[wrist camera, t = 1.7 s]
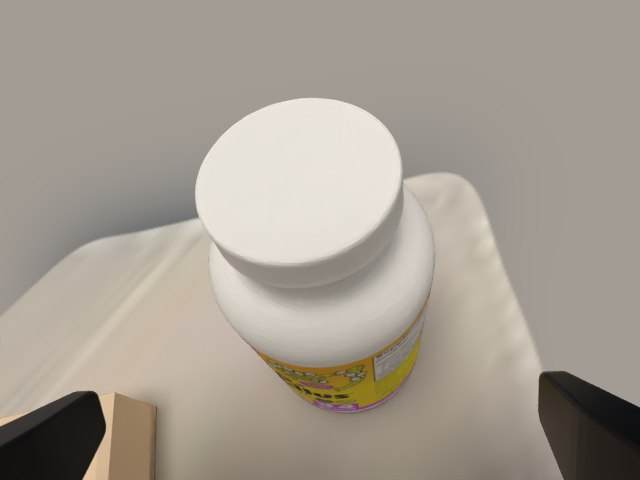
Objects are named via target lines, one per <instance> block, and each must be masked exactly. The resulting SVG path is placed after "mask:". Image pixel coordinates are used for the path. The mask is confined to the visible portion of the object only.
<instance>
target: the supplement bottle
mask: <svg viewBox="0 0 640 480" xmlns="http://www.w3.org/2000/svg"><path fill="white" fill-rule="evenodd" d="M195 197H196V207H197V212H198V215H199V217H200V220H201V222H202V225H203V227H204V229H205V230H206V232H207V233H208V235H209V236H210V238H211V239H212V242H211V247H210V254H209V275H210V281H211V286H212V290H213V293H214V296H215V299H216V302H217V304H218V306H219V308H220V310H221V312H222V313H223V315H224V317H225V318H226V320H227V321H228V322H229V324H230V325H231V326H232V327H233V329H234V330H235V331H236V332H237V333H238V334H239V335H240V336H241V337H242V339H243V340H245V341H246V342H247V343H248V344H249V345H250V346H251V347H252V348H253V349H254V350H255V351H256V352H257V354H258V355H259V356H260V357H261V358H262V359H263V360H264V361H265V362H266V363H267V364H268V365H269V366H270V367H271V368H272V369H273V370H274V371H275V372H276V373H277V374H278V375H279V376H280V377H281V378H282V379H283V380H284V381H285V382H286V383H287V384H288V385H289V386H290V387H291V388H292V389H293V390H294V391H295V392H296V393H297V394H298V395H300V396H301V397H302V398H303V399H305V400H306V401H308V402H309V403H311V404H313V405H315V406H317V407H320V408H322V409H325V410H329V411H334V412H342V413H349V412H358V411H363V410H367V409H370V408H373V407H375V406H377V405H379V404H381V403H383V402H384V401H386V400H387V399H389V398H390V397H391V396H392V395H394V394H395V393H396V392H397V391H398V390H399V389H400V387H401V386H402V385H403V384H404V382H405V381H406V379H407V378H408V376H409V374H410V372H411V370H412V368H413V366H414V363H415V360H416V357H417V352H418V348H419V343H420V338H421V333H422V328H423V324H424V319H425V313H426V308H427V303H428V299H429V294H430V290H431V285H432V280H433V274H434V267H435V244H434V237H433V232H432V228H431V225H430V222H429V219H428V217H427V214H426V212H425V211H424V209H423V207H422V205H421V203H420V202H419V200H418V199H417V197H416V196H415V194H414V193H413V192H412V191H411V190H410V189H409V188H408V187H407V186H406V185H405V184H404V183H403V167H402V160H401V155H400V152H399V149H398V146H397V144H396V142H395V140H394V138H393V136H392V135H391V134H390V132H389V131H388V129H387V128H386V127H385V126H384V125H383V124H382V123H381V122H380V121H379V120H378V119H377V118H375V117H374V116H372V115H371V114H370V113H368V112H366V111H365V110H363V109H361V108H358V107H356V106H354V105H351V104H348V103H345V102H342V101H337V100H331V99H322V98H303V99H295V100H289V101H284V102H280V103H276V104H272V105H270V106H267V107H265V108H262V109H260V110H258V111H256V112H254V113H252V114H250V115H248V116H246V117H244V118H243V119H241V120H240V121H239V122H237V123H236V124H234V125H233V126H232V127H231V128H230V129H228V130H227V131H226V132H225V133H224V134H223V135H222V136H221V137H220V138H219V139H218V141H217V142H216V143H215V144H214V146H213V147H212V148H211V150H210V151H209V153H208V154H207V156H206V158H205V159H204V161H203V163H202V165H201V168H200V170H199V174H198V177H197V181H196V189H195Z"/></svg>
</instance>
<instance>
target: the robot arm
mask: <svg viewBox="0 0 640 480" xmlns="http://www.w3.org/2000/svg"><path fill="white" fill-rule="evenodd" d="M538 412H539V418H540V422H541V425H542V427H543V430H544V432H545V435H546V437H547V439H548V442H549V444H550V447H551V449H552V452H553V454H554V457H555V459H556V461H557V464H558V466H559V469H560V471H561V474H562V476H563V479H564V480H640V407H638V406H636V405H634V404H632V403H630V402H628V401H626V400H624V399H621V398H619V397H617V396H615V395H613V394H611V393H609V392H607V391H605V390H603V389H601V388H599V387H596V386H594V385H592V384H590V383H588V382H586V381H584V380H582V379H580V378H578V377H576V376H574V375H572V374H570V373H568V372H565V371H546V372H542V373H541V374H540V377H539V397H538ZM105 432H106V421H105V417H104V414H103V410H102V406H101V403H100V399H99V396H98V395H97V393H96V392H94V391H77V392H73V393H71V394H69V395H67V396H64V397H62V398H60V399H58V400H56V401H54V402H52V403H49V404H47V405H45V406H43V407H41V408H39V409H36V410H34V411H32V412H30V413H28V414H26V415H24V416H21V417H19V418H17V419H15V420H13V421H11V422H8V423H6V424H4V425H2V426H0V480H83V478H84V476H85V474H86V472H87V470H88V468H89V466H90V464H91V462H92V460H93V458H94V456H95V454H96V452H97V450H98V448H99V446H100V444H101V442H102V440H103V438H104V436H105Z"/></svg>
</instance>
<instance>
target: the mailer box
mask: <svg viewBox="0 0 640 480" xmlns="http://www.w3.org/2000/svg"><path fill="white" fill-rule="evenodd" d="M99 399H100V403H101V406H102V410H103V414H104V417H105V421H106V432H105V436H104V438H103V440H102V442H101V444H100V446H99V448H98V450H97V452H96V454H95V456H94V458H93V460H92V462H91V464H90V466H89V468H88V470H87V472H86V474H85V476H84V478H83V480H154V476H155V436H156V407H155V406H152V405H149V404H146V403H143V402H140V401H138V400H135V399H132V398H129V397H126V396H123V395H121V394H118V393H110V394H106V395H101V396H99ZM31 412H32V411H31ZM28 413H30V412H27V413H23V414H18V415H14V416H9V417H5V418H1V419H0V426H2V425H4V424H6V423H8V422H11V421H13V420H15V419H17V418H19V417H21V416H24V415H26V414H28Z"/></svg>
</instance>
